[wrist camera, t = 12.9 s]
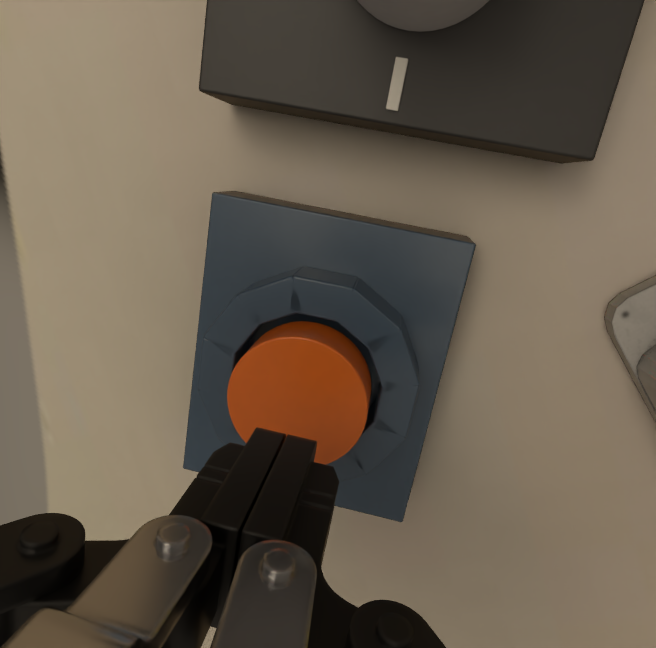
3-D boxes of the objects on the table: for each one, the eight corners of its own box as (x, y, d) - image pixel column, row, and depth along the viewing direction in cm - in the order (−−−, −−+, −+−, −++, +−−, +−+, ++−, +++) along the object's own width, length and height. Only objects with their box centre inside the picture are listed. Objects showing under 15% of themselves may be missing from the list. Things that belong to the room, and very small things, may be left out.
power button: (252, 308, 17) (235, 322, 15) (384, 336, 16) (381, 354, 15) (235, 425, 18) (218, 451, 16) (357, 454, 18) (352, 483, 16)
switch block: (232, 190, 19) (190, 193, 16) (468, 236, 19) (484, 251, 15) (202, 441, 23) (161, 495, 19) (403, 490, 22) (402, 555, 18)
